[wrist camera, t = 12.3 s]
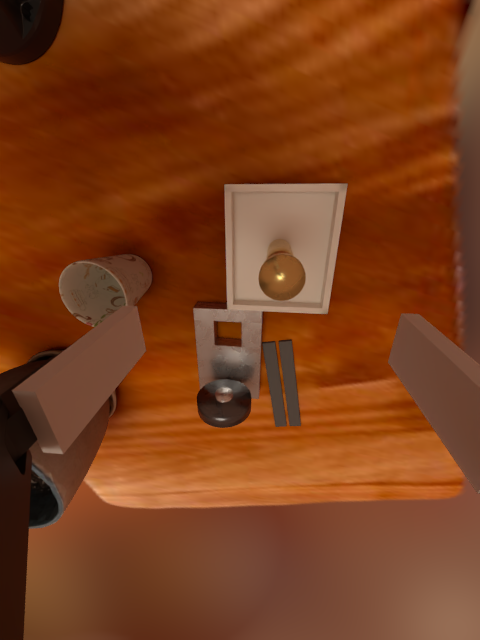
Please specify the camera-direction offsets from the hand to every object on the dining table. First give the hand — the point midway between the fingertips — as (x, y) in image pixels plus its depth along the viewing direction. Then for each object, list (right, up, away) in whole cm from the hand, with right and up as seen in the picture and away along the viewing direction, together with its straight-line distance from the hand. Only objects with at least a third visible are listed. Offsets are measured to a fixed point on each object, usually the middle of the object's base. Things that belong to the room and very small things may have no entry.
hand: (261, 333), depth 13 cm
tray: (+4, +10, +22) cm, 25 cm away
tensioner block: (-3, -4, +30) cm, 30 cm away
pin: (+4, +10, +22) cm, 24 cm away
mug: (-18, +6, +27) cm, 33 cm away
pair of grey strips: (+6, -11, +32) cm, 34 cm away
